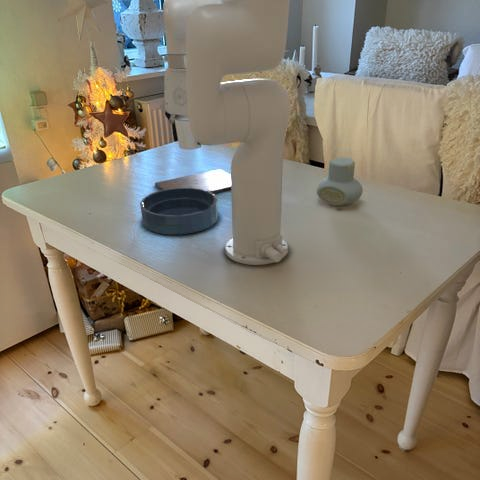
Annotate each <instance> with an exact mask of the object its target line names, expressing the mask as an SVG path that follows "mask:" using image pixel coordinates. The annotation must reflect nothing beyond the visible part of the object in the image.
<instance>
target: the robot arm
mask: <svg viewBox="0 0 480 480" xmlns="http://www.w3.org/2000/svg"><path fill="white" fill-rule="evenodd" d="M290 2H291V0H164V2H163V4H162V13H163V24H164V35H165V36H164V37H165V47H166V55H164V56H163V60H164V62H166V63H167V67H166V68H165V71H164V78H163V79H164V80H163V81H164V82H163V94H164V95H163V96H164V100H163V101H162V103H161V104H160V105H159V108H160V110H161V111H162V112H163V114H164V116H165V117H166V119H167V120H168V122H169V124H170V125H171V130H172V131H171V132H172V138H173V142H178V137H177V131H176V126H175V120H174V118H175V117H177V116H181V115H182V116H188V118H189V125H190V129H191V133H192V135H193V137H194V139H195V140H196V141H197V143H198V145H201V144H202V146H220V145H227V144H236V143H239V144H238V146H237V147H236V149H235V151H234V152H233V153H234V154H233V156H232V159H231V163H230V175H231V190H230V194H231V222H232V224H231V225H232V226H231V228H232V238H231V239H229V240H228V241H227V242H226V243H225V246H224V248H225V254H226V256H227V257H228V258H229V259H230V260H232V261H234V262H236V263H240V264H243V265H250V266H263V265H270V264H273V263H279V262H281V260H282V259H284V258H285V257H286V256H287V254H288V253H289V249H288V248H289V247H288V246H289V245H288V242H286V240H284V239H283V235H282V234H281V233H282V232H281V231H282V230H281V229H282V227H281V226H282V223H281V222H282V200H283V199H282V198H283V197H282V196H283V171H284V170H283V168H284V152H285V143H286V137H287V130H288V126H289V122H290V116H291V106H292V105H291V98H290V94H289V92H288V90H287V88H286V87H285V86H284V85H283V84H282V83H280V82H279V81H277V80H274V79H270V78H250V79H241V80H240V79H239V80H234V81H225V82H224V81H223V78H224V77H225V76H231V75H243V74H252V73H253V74H254V73H261V72H268V71H272V70H274V69H276V68H278V67H279V66H280V65H281V64H282V62H283V61H284V57H285V54H286V47H287V38H288V28H289V27H288V26H289V15H290ZM222 81H223V82H222Z"/></svg>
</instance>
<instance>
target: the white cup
mask: <svg viewBox="0 0 480 480" xmlns="http://www.w3.org/2000/svg"><path fill="white" fill-rule="evenodd" d="M174 120H175V126H176V131H177V137H178V141H177V142H178V143H177V144H178V147H179V149H181V150H185V151H186V150H188V151H191V150H192V151H193V150H198V149H201V148H202V146H203V145H202V144H201V145H198V143H197V141H196V140H195V139H194V137H193V135H192V133H191V129H190V125H189V118H188V116H182V115H181V116H177V117H175V118H174Z"/></svg>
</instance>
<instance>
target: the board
mask: <svg viewBox="0 0 480 480" xmlns="http://www.w3.org/2000/svg"><path fill="white" fill-rule="evenodd" d="M154 186H155V187H156V188H157V189H158V190H159V191H161V190H166V189H172V188H196V189H202V190H205V191H209V192H211V193H212V194H214V195H215V194H220V193H224V192H228V191H231V173H228V172H226V171H224V170H222V169H221V168H218V169H214V170H209V171H204V172H200V173H195V174H190V175H185V176H180V177H175V178H170V179H166V180H162V181H157V182H154Z"/></svg>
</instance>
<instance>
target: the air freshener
mask: <svg viewBox="0 0 480 480" xmlns="http://www.w3.org/2000/svg"><path fill="white" fill-rule="evenodd" d="M355 166H356V162H355V161H354V160H353V159H352V158H349V157H335V158H332V159H331V160H329V162H328V172H327V173H328V175H327V176H326V177H324V178H323V179H321V180H320V181H319V182H318V184H317V186H316V195H317V196H318V198H319V199H320V200H321V201H322V202H324V203H325V204H328V205H329V206H331V207H337V208H338V207H345V206H350V205H352V204H354V203H356V202H358V200H359V199H360V198H361V197H362V195H363V190H364V189H363V186H362V184H361V183H360V181H359V180H358V179H357V178H355V177H354V175H355Z"/></svg>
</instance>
